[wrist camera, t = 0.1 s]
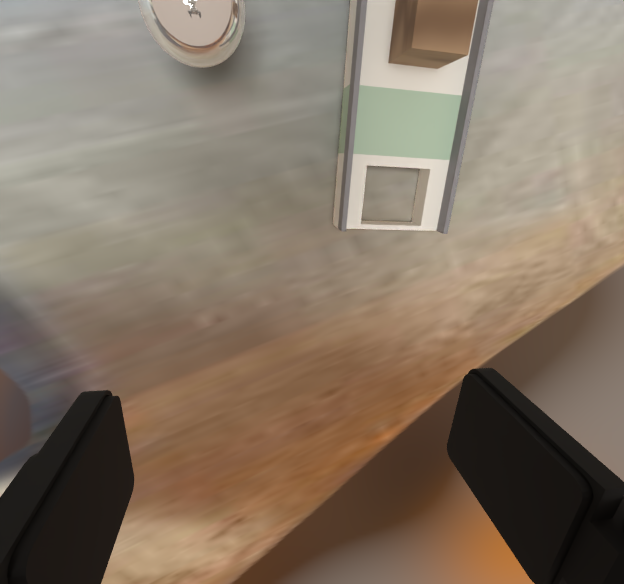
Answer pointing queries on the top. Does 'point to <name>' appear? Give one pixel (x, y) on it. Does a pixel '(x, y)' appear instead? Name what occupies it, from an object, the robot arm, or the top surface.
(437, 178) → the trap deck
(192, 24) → the light bulb
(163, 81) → the top surface
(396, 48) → the walnut block
